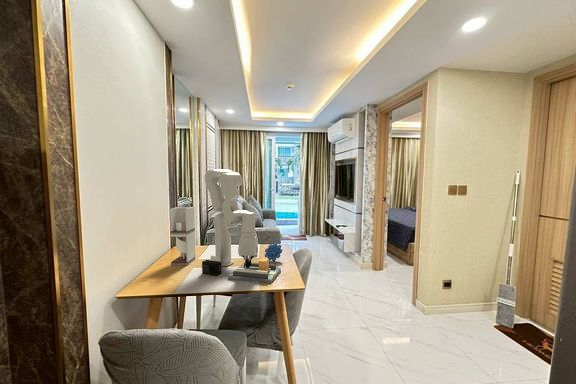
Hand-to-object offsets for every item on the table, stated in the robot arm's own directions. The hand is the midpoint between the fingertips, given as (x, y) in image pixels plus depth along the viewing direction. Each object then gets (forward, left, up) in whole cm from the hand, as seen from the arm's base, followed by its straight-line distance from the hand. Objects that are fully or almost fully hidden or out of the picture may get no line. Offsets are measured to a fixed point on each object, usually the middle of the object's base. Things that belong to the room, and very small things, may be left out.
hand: (248, 266), depth 142 cm
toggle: (+9, 0, -2) cm, 9 cm away
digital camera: (-20, -5, -4) cm, 21 cm away
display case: (-49, +10, -4) cm, 50 cm away
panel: (+4, 0, -4) cm, 6 cm away
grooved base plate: (+4, 0, -2) cm, 5 cm away
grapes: (+6, +27, -4) cm, 28 cm away
